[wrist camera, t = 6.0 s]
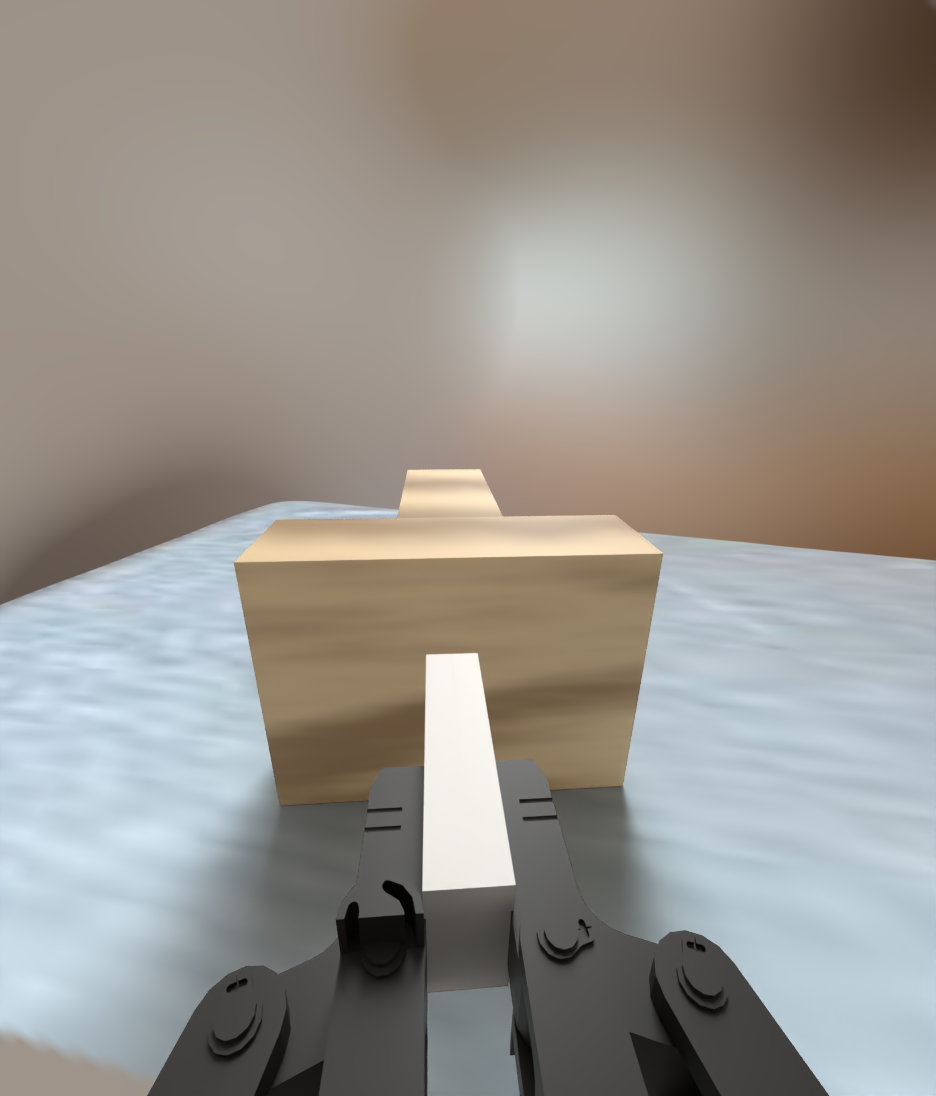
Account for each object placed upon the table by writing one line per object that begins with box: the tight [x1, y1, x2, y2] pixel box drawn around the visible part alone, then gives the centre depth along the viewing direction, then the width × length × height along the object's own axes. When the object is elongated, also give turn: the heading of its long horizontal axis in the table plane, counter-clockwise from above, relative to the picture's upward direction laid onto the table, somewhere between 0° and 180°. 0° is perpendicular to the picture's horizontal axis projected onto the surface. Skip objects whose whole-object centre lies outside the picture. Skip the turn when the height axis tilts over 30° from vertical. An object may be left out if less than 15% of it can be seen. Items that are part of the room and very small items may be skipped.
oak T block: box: [234, 469, 663, 806], centre depth 27 cm, size 16×16×12 cm
